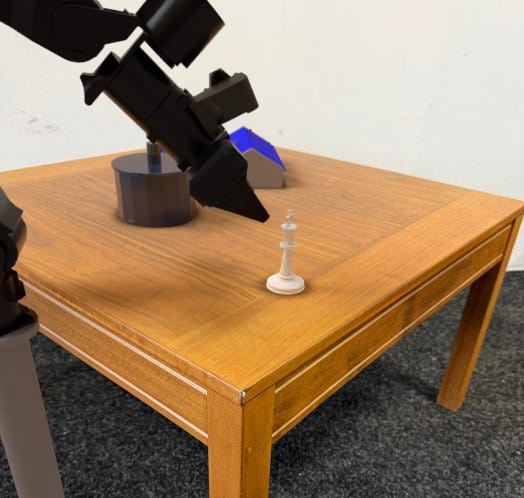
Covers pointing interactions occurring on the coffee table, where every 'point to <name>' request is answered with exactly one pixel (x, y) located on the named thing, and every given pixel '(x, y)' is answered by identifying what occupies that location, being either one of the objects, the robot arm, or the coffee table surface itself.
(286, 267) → the chess piece
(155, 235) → the coffee table surface
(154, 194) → the pot
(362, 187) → the coffee table surface
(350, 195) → the coffee table surface
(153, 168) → the pot lid
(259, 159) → the toy house
